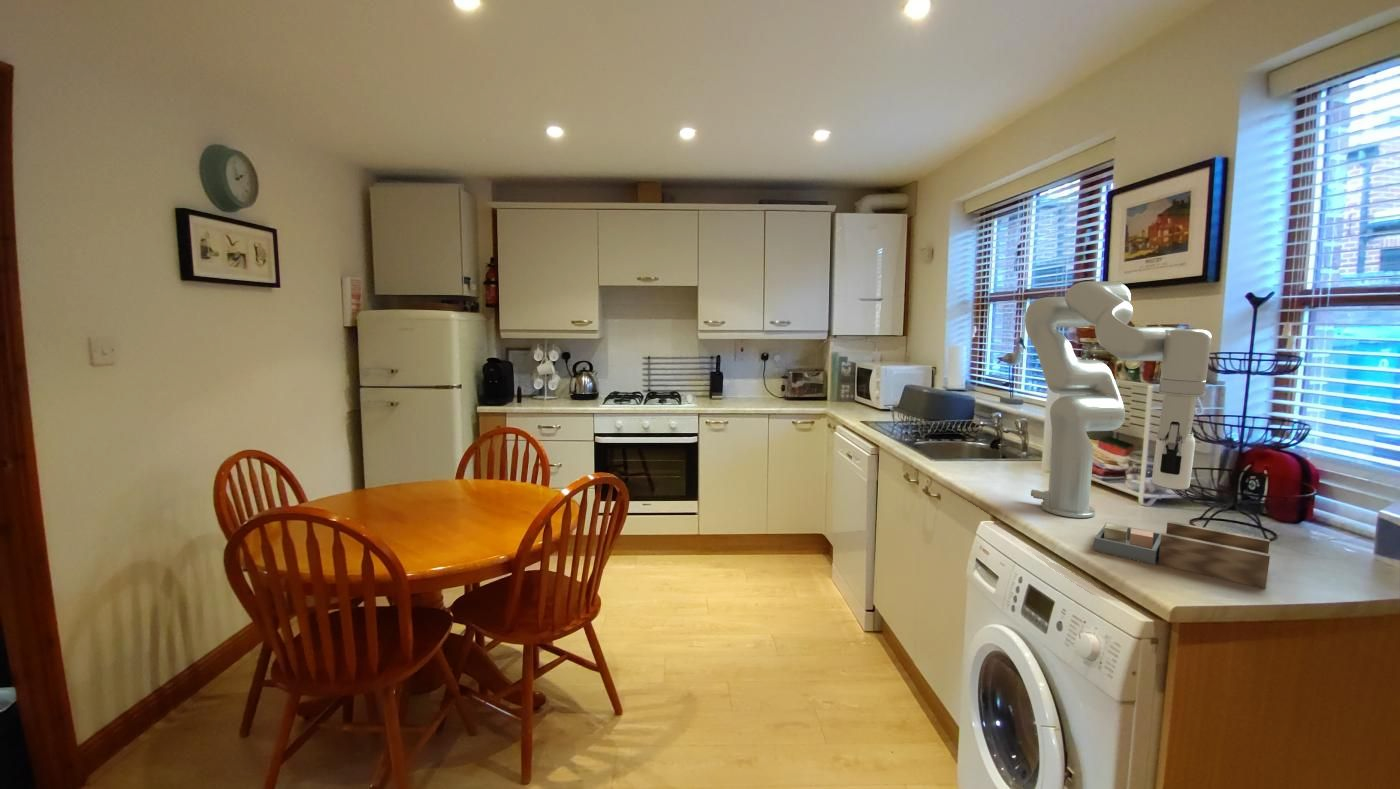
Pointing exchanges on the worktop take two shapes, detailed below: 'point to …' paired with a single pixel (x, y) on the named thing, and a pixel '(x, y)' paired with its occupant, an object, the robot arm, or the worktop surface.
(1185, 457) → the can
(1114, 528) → the maple block
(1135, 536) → the terracotta block
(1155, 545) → the tray
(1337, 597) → the worktop surface
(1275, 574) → the worktop surface
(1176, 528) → the slot block
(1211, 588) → the worktop surface
